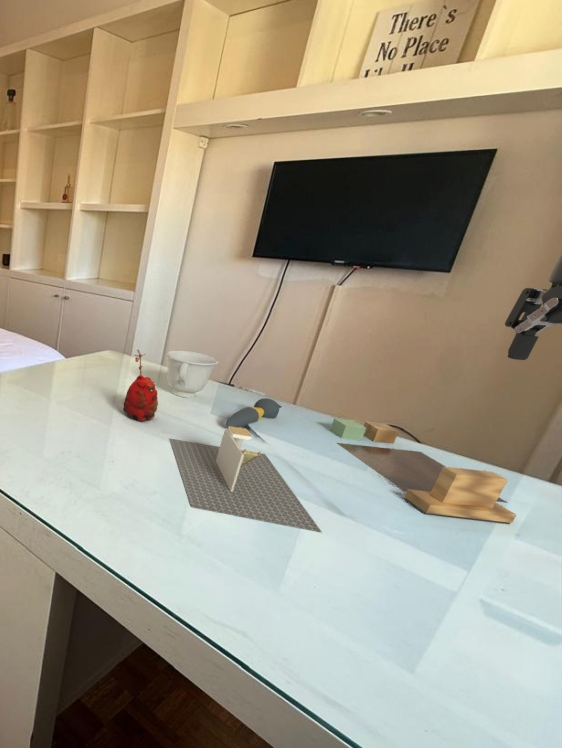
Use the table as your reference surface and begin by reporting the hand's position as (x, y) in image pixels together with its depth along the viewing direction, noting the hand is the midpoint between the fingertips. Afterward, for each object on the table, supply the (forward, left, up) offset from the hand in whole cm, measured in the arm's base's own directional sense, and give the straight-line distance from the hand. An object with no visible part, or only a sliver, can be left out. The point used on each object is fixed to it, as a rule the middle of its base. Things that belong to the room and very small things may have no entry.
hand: (545, 366), depth 65 cm
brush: (+6, +4, -24) cm, 25 cm away
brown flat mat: (+2, -10, -24) cm, 26 cm away
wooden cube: (-1, -22, -22) cm, 31 cm away
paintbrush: (+22, -28, -24) cm, 43 cm away
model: (+37, -1, -24) cm, 44 cm away
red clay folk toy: (+48, -25, -24) cm, 59 cm away
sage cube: (+5, -22, -22) cm, 31 cm away
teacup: (+33, -43, -24) cm, 59 cm away
